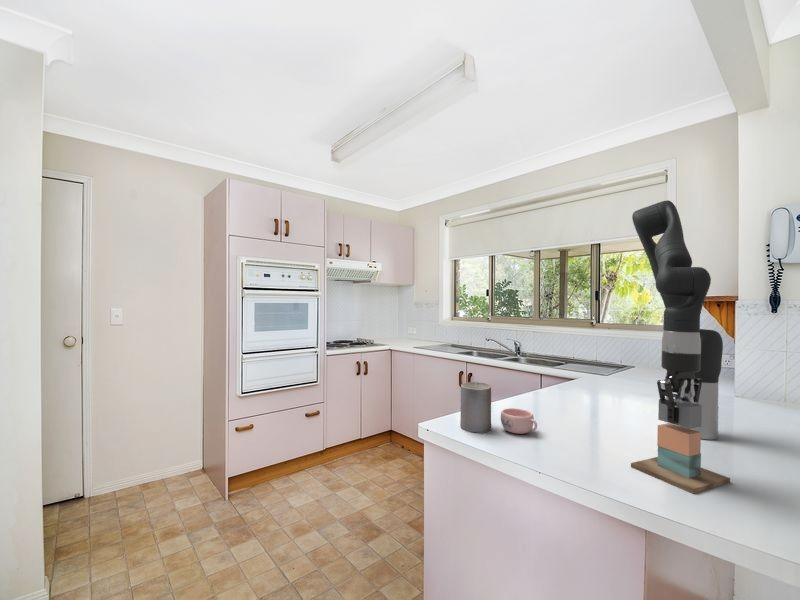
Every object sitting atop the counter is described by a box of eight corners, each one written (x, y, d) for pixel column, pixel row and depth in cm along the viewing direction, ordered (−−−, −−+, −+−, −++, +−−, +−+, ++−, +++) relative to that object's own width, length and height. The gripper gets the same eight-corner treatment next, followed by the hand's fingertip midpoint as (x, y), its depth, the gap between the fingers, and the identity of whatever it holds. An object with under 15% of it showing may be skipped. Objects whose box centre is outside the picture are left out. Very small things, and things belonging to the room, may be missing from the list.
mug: (493, 429, 120) (494, 411, 120) (512, 423, 126) (512, 406, 126) (527, 441, 110) (527, 421, 110) (545, 434, 116) (546, 415, 116)
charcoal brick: (669, 417, 95) (670, 397, 95) (701, 426, 88) (701, 405, 88) (658, 419, 93) (658, 399, 93) (689, 428, 87) (690, 407, 86)
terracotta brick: (668, 442, 95) (669, 423, 95) (700, 453, 88) (700, 432, 88) (657, 445, 93) (657, 425, 93) (688, 456, 86) (689, 434, 86)
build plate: (666, 458, 100) (666, 435, 100) (729, 482, 87) (730, 456, 87) (630, 466, 94) (631, 442, 94) (693, 493, 81) (693, 466, 81)
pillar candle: (475, 421, 128) (475, 377, 128) (497, 429, 120) (498, 382, 120) (453, 426, 122) (454, 380, 122) (475, 435, 114) (475, 386, 114)
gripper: (682, 347, 97) (680, 414, 97) (645, 349, 91) (644, 420, 91) (716, 351, 90) (714, 423, 90) (679, 353, 84) (677, 430, 84)
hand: (679, 421), depth 91 cm, fingers closed on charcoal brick, 4 cm apart
